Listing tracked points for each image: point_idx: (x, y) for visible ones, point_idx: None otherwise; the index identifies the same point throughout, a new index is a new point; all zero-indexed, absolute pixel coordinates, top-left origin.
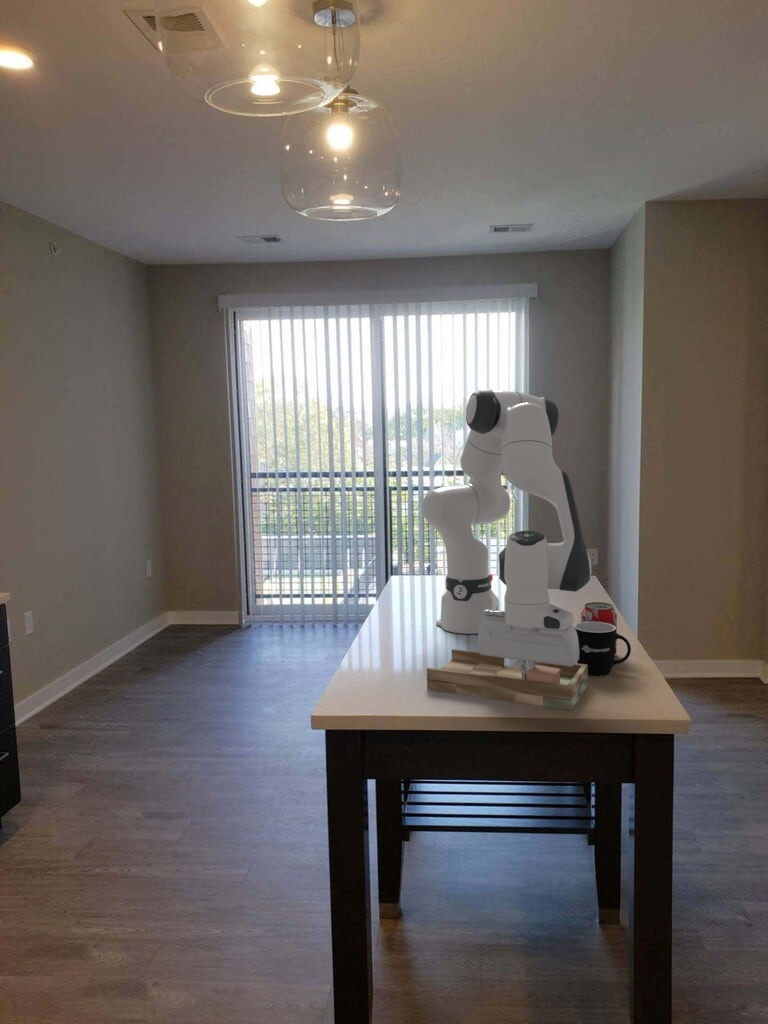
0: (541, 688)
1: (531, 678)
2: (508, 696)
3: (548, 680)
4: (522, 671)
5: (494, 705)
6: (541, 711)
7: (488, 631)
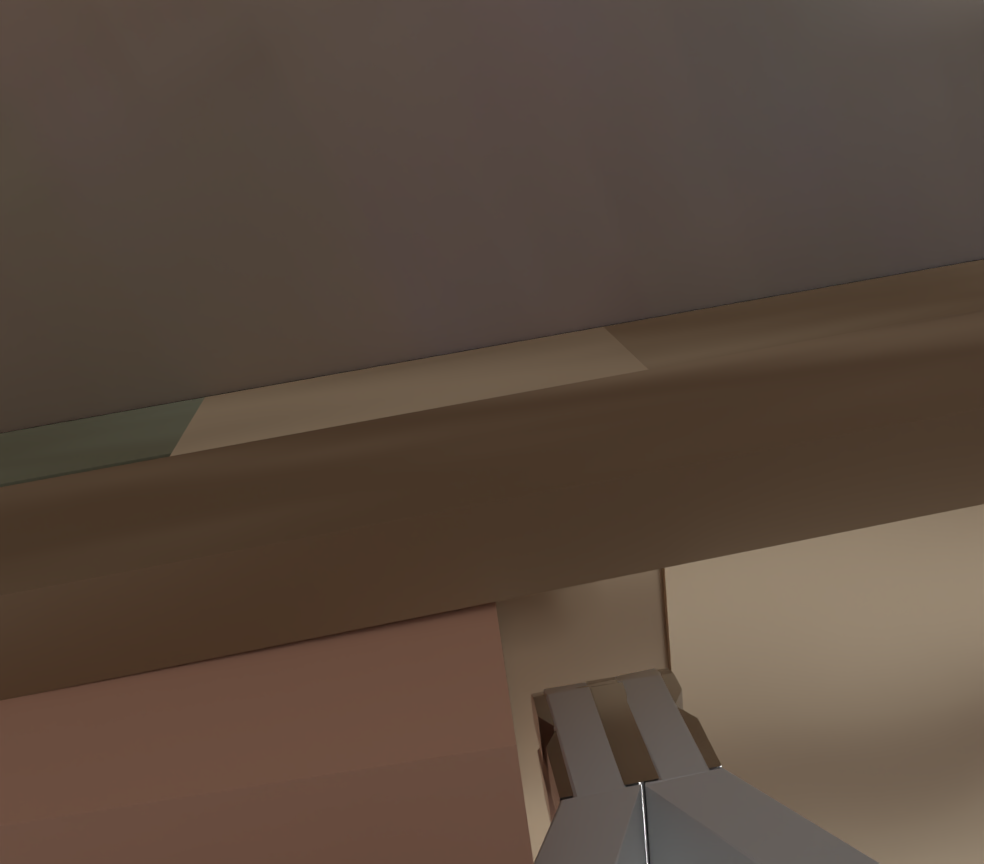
0: (161, 519)
1: (427, 651)
2: (728, 325)
3: (14, 732)
4: (723, 801)
5: (831, 48)
6: (110, 203)
7: None
